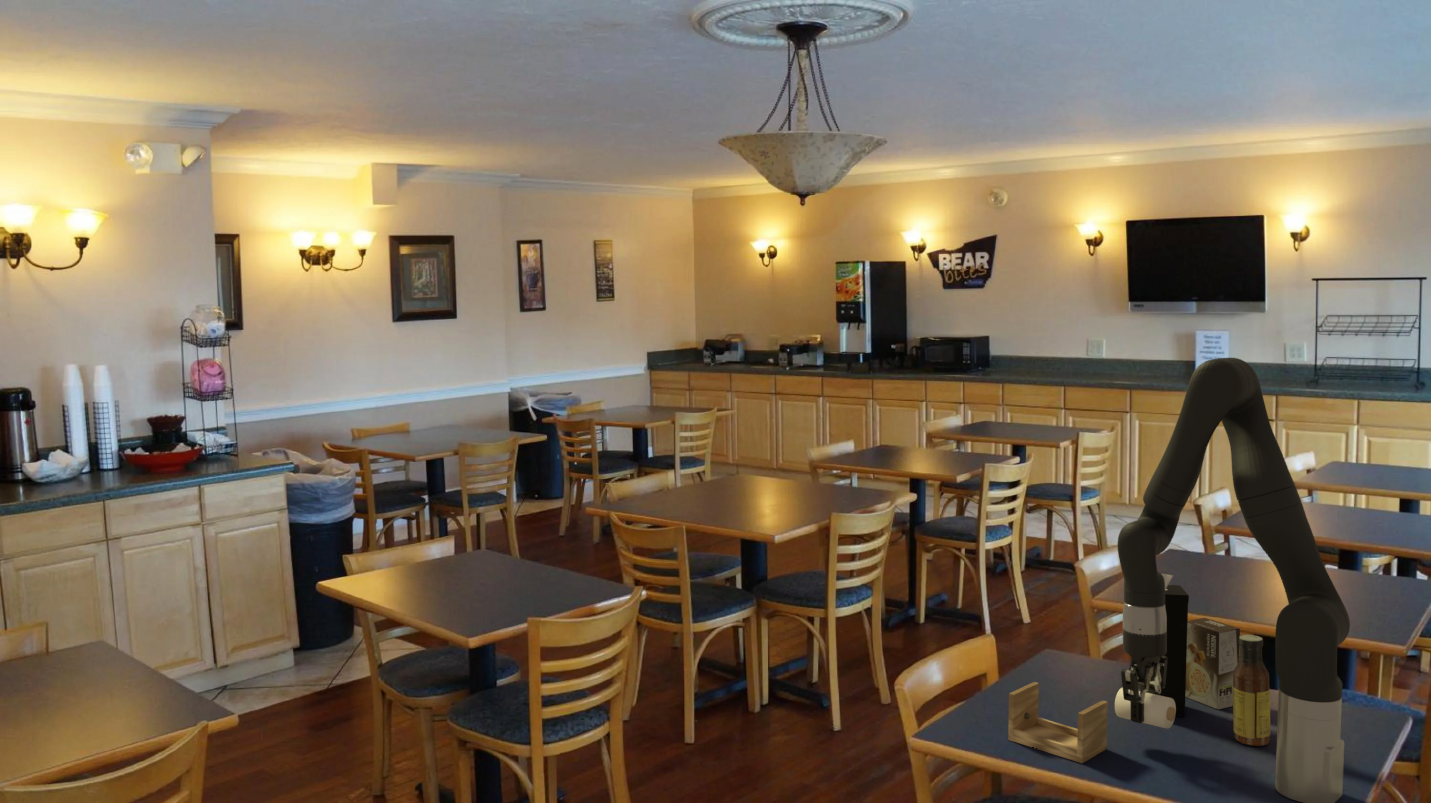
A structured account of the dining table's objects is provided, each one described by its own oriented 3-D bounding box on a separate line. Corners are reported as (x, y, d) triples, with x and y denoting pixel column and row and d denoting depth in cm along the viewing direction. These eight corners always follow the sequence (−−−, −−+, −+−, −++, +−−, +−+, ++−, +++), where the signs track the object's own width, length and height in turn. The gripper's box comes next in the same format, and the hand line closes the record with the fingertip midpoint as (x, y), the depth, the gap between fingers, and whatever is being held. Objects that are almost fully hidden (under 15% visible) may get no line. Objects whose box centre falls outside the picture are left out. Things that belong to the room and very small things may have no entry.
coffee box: (1240, 705, 223) (1242, 628, 221) (1217, 710, 220) (1220, 632, 219) (1202, 690, 231) (1205, 616, 230) (1181, 695, 228) (1183, 620, 227)
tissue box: (1185, 717, 216) (1189, 578, 214) (1143, 714, 218) (1146, 577, 215) (1176, 703, 224) (1180, 569, 222) (1136, 700, 226) (1139, 567, 223)
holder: (1106, 748, 201) (1107, 701, 201) (1082, 763, 195) (1083, 714, 194) (1033, 726, 212) (1034, 681, 211) (1008, 739, 206) (1008, 693, 205)
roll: (1179, 724, 199) (1179, 695, 199) (1165, 733, 196) (1165, 702, 195) (1125, 711, 207) (1125, 683, 206) (1111, 719, 203) (1111, 690, 203)
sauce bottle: (1265, 736, 207) (1269, 633, 205) (1273, 749, 201) (1277, 643, 199) (1228, 733, 208) (1231, 631, 207) (1234, 745, 202) (1237, 641, 201)
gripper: (1146, 639, 193) (1147, 733, 194) (1182, 622, 202) (1182, 712, 203) (1106, 631, 198) (1107, 723, 199) (1142, 615, 208) (1143, 702, 209)
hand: (1145, 716), depth 201 cm, fingers closed on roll, 5 cm apart
